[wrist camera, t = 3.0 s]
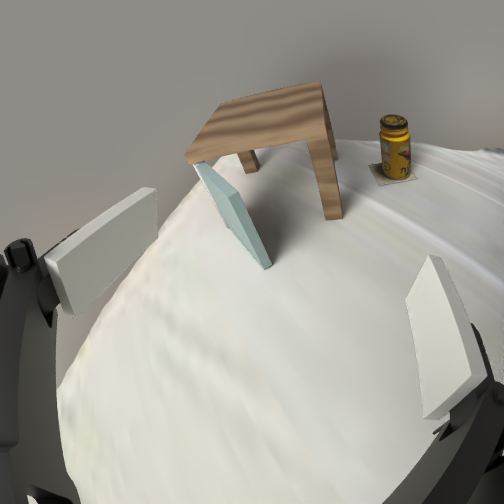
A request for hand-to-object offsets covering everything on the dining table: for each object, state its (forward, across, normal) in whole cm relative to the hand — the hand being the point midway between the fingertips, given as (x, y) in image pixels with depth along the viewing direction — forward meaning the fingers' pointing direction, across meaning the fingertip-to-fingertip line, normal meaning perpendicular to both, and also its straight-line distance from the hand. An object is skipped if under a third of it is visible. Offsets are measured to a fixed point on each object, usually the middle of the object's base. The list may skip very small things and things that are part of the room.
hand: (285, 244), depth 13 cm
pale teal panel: (+31, -8, -20) cm, 38 cm away
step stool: (+45, -4, -13) cm, 47 cm away
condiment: (+46, +16, -5) cm, 49 cm away
